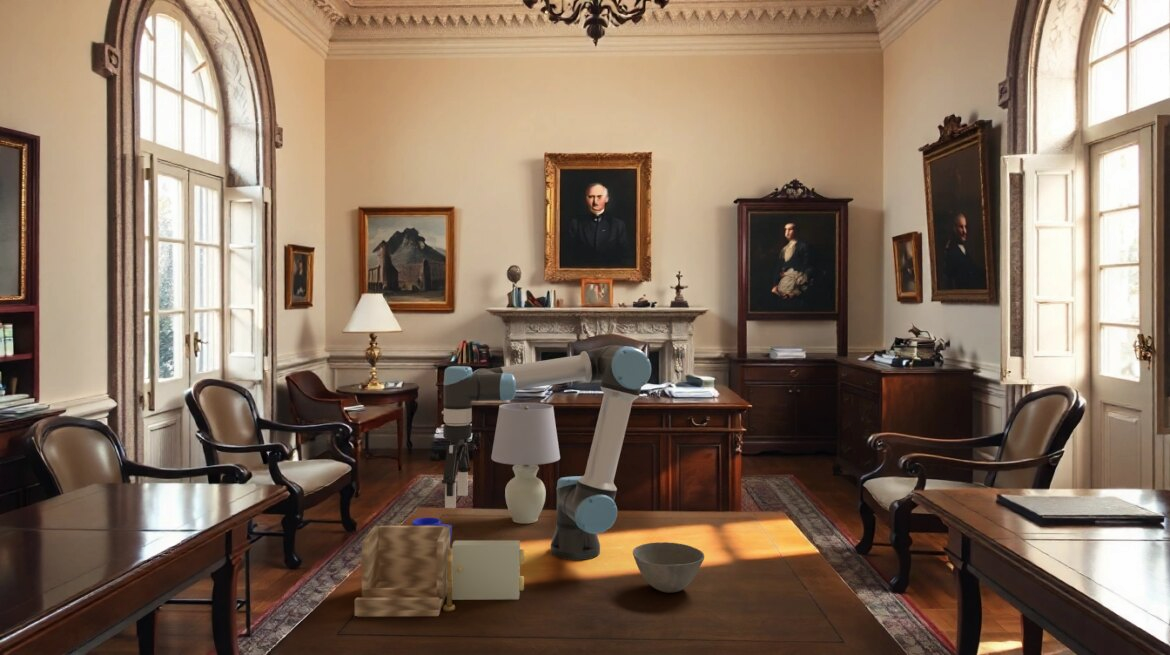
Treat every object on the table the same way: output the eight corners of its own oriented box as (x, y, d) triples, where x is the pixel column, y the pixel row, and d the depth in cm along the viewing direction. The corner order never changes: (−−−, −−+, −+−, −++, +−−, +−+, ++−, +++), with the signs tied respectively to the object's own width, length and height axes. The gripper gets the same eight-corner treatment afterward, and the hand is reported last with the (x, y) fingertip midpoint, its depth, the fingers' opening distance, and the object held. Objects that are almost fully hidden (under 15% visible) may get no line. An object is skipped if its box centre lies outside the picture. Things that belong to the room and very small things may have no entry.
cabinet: (462, 584, 210) (463, 525, 210) (452, 616, 189) (453, 550, 189) (374, 585, 209) (374, 525, 208) (354, 616, 188) (354, 550, 188)
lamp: (569, 515, 281) (570, 404, 280) (544, 533, 258) (545, 412, 257) (508, 508, 289) (509, 400, 288) (478, 525, 266) (479, 408, 265)
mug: (446, 560, 230) (446, 526, 230) (407, 557, 232) (408, 523, 232) (456, 551, 238) (456, 519, 238) (419, 548, 240) (419, 516, 240)
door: (524, 593, 204) (524, 540, 204) (523, 600, 199) (523, 546, 199) (453, 594, 204) (454, 540, 203) (451, 601, 199) (451, 546, 198)
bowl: (618, 590, 207) (618, 553, 207) (658, 572, 222) (659, 537, 221) (677, 609, 195) (678, 569, 195) (716, 588, 210) (717, 551, 209)
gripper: (455, 416, 225) (454, 490, 226) (431, 430, 200) (430, 512, 201) (480, 417, 224) (480, 491, 225) (460, 431, 200) (459, 513, 200)
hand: (456, 501), depth 213 cm, fingers open, 13 cm apart
